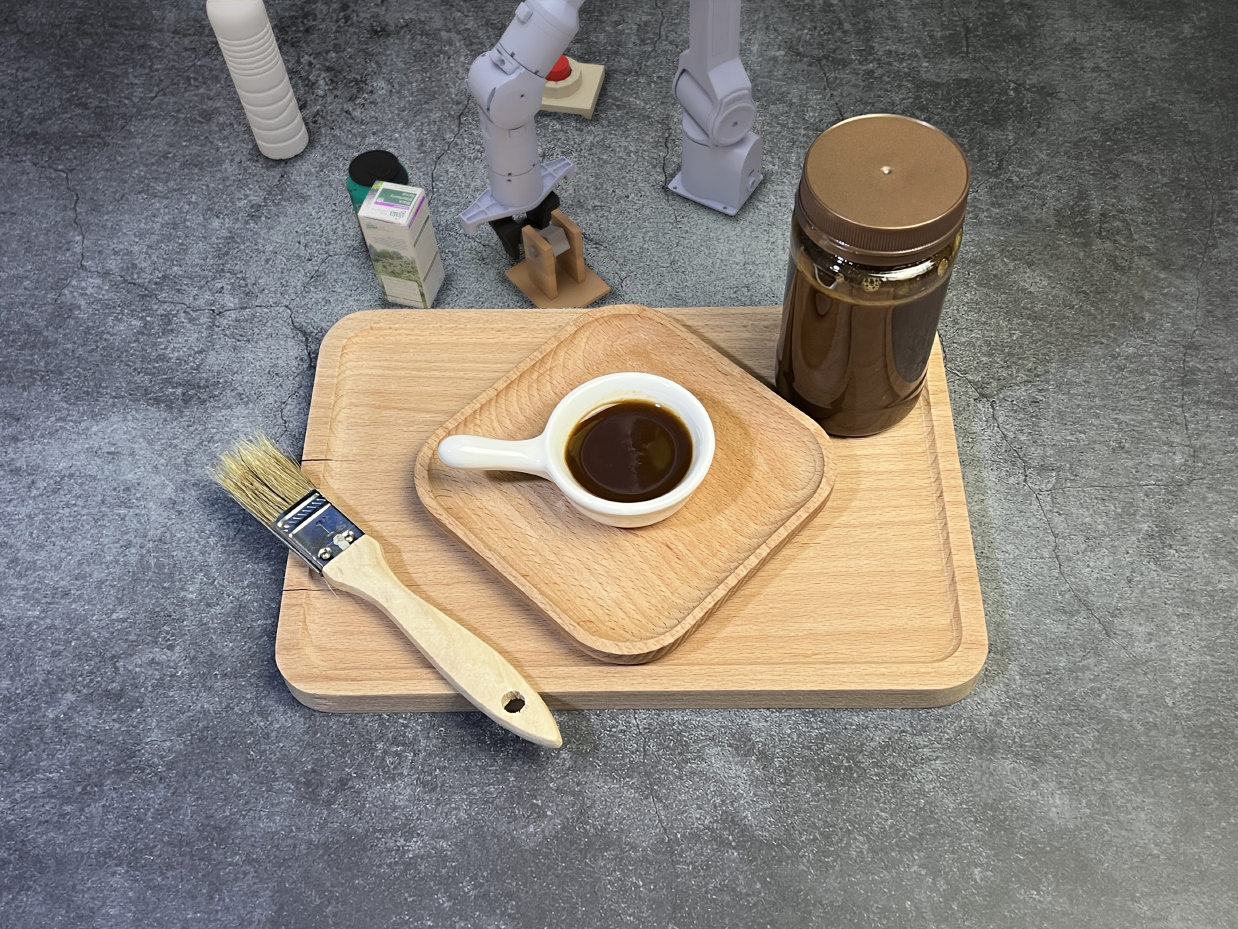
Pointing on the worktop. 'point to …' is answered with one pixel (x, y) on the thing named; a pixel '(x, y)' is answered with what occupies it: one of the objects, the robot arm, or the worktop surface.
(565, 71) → the button
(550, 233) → the lever
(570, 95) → the button box
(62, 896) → the worktop surface
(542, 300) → the bracket
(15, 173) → the worktop surface
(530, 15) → the robot arm
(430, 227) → the syrup box
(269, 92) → the water bottle
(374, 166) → the teal lidded canister
